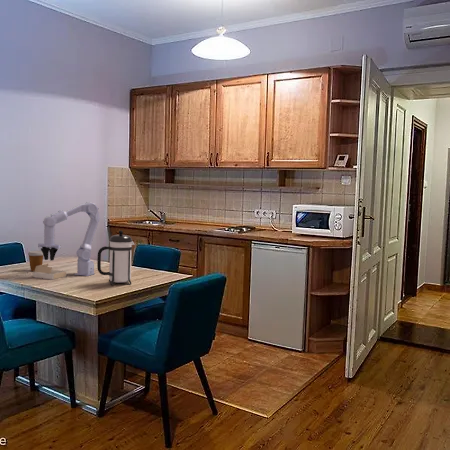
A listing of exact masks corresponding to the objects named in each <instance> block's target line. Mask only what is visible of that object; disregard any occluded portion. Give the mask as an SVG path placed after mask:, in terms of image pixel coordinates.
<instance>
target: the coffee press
mask: <svg viewBox="0 0 450 450" xmlns="http://www.w3.org/2000/svg"><path fill="white" fill-rule="evenodd" d="M108 242H109V246H107V245H106V246H101V247H100V248H99V249H98V251H97V257H96V258H97V261H96V263H97V265H96V266H97V267H96V268H97V271H98V273H99V274H100V275H101V276H109V278H108V282H109V283H110V285H111V286H114V285H116V283H118V284H120V283H127V285H128V286H130V285H132V281H131V279H132V250H133V246H135V245H136V244H135V243H134V241H133V239H132V237H131V236H130V235H127V234H124V231H123V230H119V231H118V234H114V235H111V236H110V238H109V240H108ZM106 250H109V263H108V264H109V268H108V269H109V271H103V270H102V269H101V267H102V266H101V264H102V263H101V262H102V252H103V251H106Z"/></svg>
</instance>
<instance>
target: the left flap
mask: <svg viewBox="0 0 450 450" xmlns="http://www.w3.org/2000/svg"><path fill="white" fill-rule="evenodd" d="M51 270H53V267H51V266H48V267H43V266H38V267H37V271H35V272H42V273H51Z"/></svg>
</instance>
